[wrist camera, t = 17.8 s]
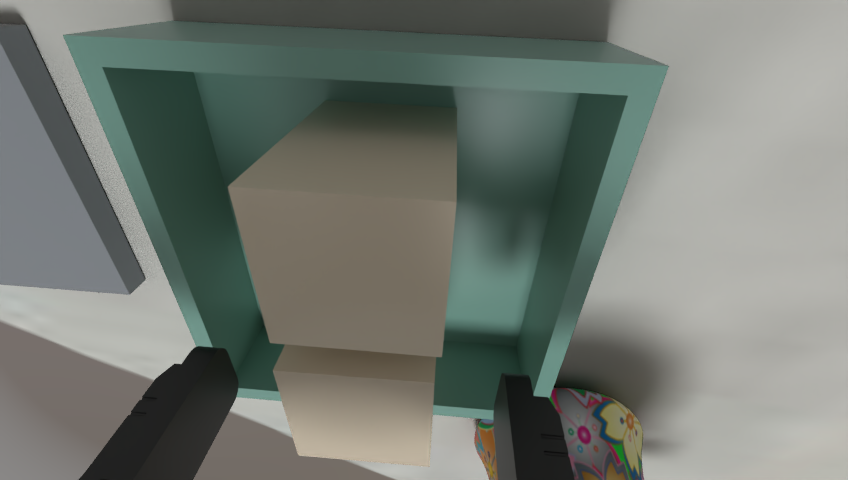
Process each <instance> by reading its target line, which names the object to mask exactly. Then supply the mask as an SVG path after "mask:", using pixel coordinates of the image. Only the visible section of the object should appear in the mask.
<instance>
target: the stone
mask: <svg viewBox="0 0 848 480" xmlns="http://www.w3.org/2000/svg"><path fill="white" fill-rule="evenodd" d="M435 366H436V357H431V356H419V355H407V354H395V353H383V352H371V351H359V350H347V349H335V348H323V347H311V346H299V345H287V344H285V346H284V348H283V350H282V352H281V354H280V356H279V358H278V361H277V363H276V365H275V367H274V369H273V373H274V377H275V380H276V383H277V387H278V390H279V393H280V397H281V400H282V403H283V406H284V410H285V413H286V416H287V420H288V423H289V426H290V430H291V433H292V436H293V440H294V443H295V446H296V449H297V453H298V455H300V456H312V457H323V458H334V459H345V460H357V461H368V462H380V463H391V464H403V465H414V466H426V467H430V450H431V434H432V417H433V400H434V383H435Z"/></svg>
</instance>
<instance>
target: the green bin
mask: <svg viewBox="0 0 848 480" xmlns="http://www.w3.org/2000/svg"><path fill="white" fill-rule="evenodd" d="M63 36H64V39H65V41H66V43H67V46H68V48H69V50H70V53H71V55H72V57H73V60H74V62H75V64H76V67H77V69H78V71H79V74H80V76H81V78H82V81H83V83H84V85H85V88H86V90H87V92H88V95H89V97H90V99H91V102H92V104H93V106H94V109H95V111H96V113H97V116H98V118H99V120H100V123H101V125H102V127H103V130H104V132H105V134H106V137H107V139H108V141H109V144H110V146H111V148H112V151H113V153H114V155H115V158H116V160H117V162H118V165H119V167H120V169H121V172H122V174H123V176H124V179H125V181H126V183H127V186H128V188H129V190H130V193H131V195H132V197H133V200H134V202H135V204H136V207H137V209H138V211H139V214H140V216H141V218H142V221H143V223H144V225H145V228H146V230H147V232H148V235H149V237H150V239H151V242H152V244H153V246H154V249H155V251H156V253H157V256H158V258H159V260H160V263H161V265H162V267H163V270H164V272H165V274H166V277H167V279H168V281H169V284H170V286H171V288H172V291H173V293H174V295H175V298H176V300H177V302H178V305H179V307H180V309H181V312H182V314H183V316H184V319H185V321H186V323H187V326H188V328H189V330H190V333H191V335H192V337H193V340H194V342H195V344H196V347H197V346H204V347H216V348H225V349H226V350H227V352H228V354H229V357H230V359H231V362H232V364H233V367H234V370H235V372H236V375H237V378H238V382H239V386H238V393H237V396H236V397H242V398H253V399H265V400H276V401H282V400H281V397H280V393H279V390H278V387H277V383H276V380H275V377H274V373H273V369H274V367H275V365H276V363H277V361H278V358H279V356H280V354H281V352H282V350H283V348H284V346H285V344H275V343H270V342H269V338H268V334H267V331H266V327H265V323H264V320H263V316H262V312H261V308H260V305H259V301H258V297H257V294H256V290H255V286H254V283H253V279H252V275H251V271H250V268H249V264H248V260H247V257H246V253H245V249H244V246H243V242H242V238H241V234H240V231H239V227H238V223H237V220H236V216H235V212H234V209H233V205H232V201H231V198H230V194H229V190H228V186H229V185H230V184H231V183H232V182H233V181H235V180H236V179H237V178H238V177H239V176H240V175H241V174H242V173H244V172H245V171H246V170H247V169H248V168H249V167H250V166H252V165H253V164H254V163H255V162H256V161H257V160H258V159H259V158H261V157H262V156H263V155H264V154H265V153H266V152H267V151H269V150H270V149H271V148H272V147H273V146H274V145H275V144H276V143H278V142H279V141H280V140H281V139H282V138H283V137H284V136H286V135H287V134H288V133H289V132H290V131H291V130H292V129H293V128H295V127H296V126H297V125H298V124H299V123H300V122H301V121H303V120H304V119H305V118H306V117H307V116H308V115H309V114H311V113H312V112H313V111H314V110H315V109H316V108H317V107H318V106H320V105H321V104H322V103H323V102H324V101H325V100H328V101H345V102H363V103H380V104H398V105H415V106H433V107H450V108H457V203H456V214H455V224H454V235H453V246H452V256H451V267H450V277H449V288H448V299H447V309H446V320H445V330H444V341H443V352H442V357H436V366H435V383H434V400H433V415H444V416H456V417H467V418H478V419H489V420H493V413H494V403H495V399H496V394H497V390H498V386H499V382H500V377H501V374H502V373H512V374H524V375H529V377H530V379H531V384H532V389H533V395H534V396H540V397H548V398H550V396H551V393H552V390H553V387H554V384H555V382H556V379H557V376H558V373H559V371H560V368H561V365H562V362H563V359H564V357H565V354H566V351H567V348H568V345H569V343H570V340H571V337H572V334H573V332H574V329H575V326H576V323H577V320H578V318H579V315H580V312H581V309H582V306H583V304H584V301H585V298H586V295H587V293H588V290H589V287H590V284H591V281H592V279H593V276H594V273H595V270H596V267H597V265H598V262H599V259H600V256H601V253H602V251H603V248H604V245H605V242H606V240H607V237H608V234H609V231H610V228H611V226H612V223H613V220H614V217H615V214H616V212H617V209H618V206H619V203H620V201H621V198H622V195H623V192H624V189H625V187H626V184H627V181H628V178H629V175H630V173H631V170H632V167H633V164H634V162H635V159H636V156H637V153H638V150H639V148H640V145H641V142H642V139H643V136H644V134H645V131H646V128H647V125H648V123H649V120H650V117H651V114H652V111H653V109H654V106H655V103H656V100H657V97H658V95H659V92H660V89H661V86H662V84H663V81H664V78H665V75H666V72H667V70H668V67H669V66H668V65H665V64H662V63H660V62H657V61H655V60H652V59H650V58H647V57H644V56H642V55H639V54H637V53H634V52H632V51H629V50H627V49H624V48H621V47H619V46H616V45H614V44H611V43H609V42H596V41H576V40H556V39H535V38H515V37H494V36H474V35H454V34H433V33H413V32H392V31H372V30H352V29H331V28H311V27H290V26H270V25H250V24H229V23H209V22H188V21H167V22H159V23H151V24H144V25H136V26H128V27H121V28H113V29H105V30H98V31H90V32H82V33H74V34H67V35H63Z"/></svg>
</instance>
